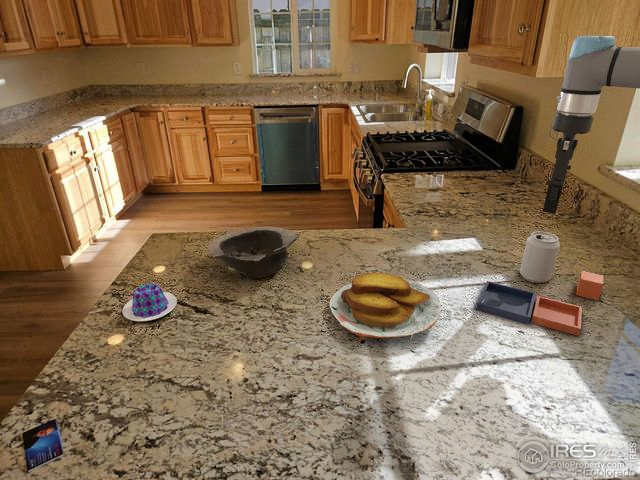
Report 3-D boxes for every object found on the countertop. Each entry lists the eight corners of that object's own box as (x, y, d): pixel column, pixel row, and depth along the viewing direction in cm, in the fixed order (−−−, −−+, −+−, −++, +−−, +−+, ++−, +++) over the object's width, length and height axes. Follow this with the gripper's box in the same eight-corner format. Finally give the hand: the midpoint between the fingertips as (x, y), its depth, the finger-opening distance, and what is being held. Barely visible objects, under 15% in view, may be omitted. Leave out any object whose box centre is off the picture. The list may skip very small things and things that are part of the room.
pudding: (175, 290, 107) (172, 272, 104) (179, 316, 96) (175, 297, 94) (123, 300, 103) (119, 281, 100) (122, 328, 93) (117, 309, 90)
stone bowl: (278, 292, 105) (274, 259, 101) (193, 282, 113) (185, 251, 109) (312, 248, 125) (309, 219, 121) (238, 242, 134) (233, 215, 130)
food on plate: (367, 363, 82) (368, 336, 80) (310, 299, 102) (310, 276, 100) (465, 324, 93) (469, 299, 90) (396, 274, 113) (398, 252, 110)
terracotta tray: (580, 313, 96) (582, 306, 96) (578, 336, 89) (581, 328, 89) (535, 302, 101) (537, 295, 100) (531, 322, 94) (532, 315, 93)
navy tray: (534, 299, 102) (536, 292, 101) (528, 324, 93) (530, 317, 92) (485, 287, 107) (487, 280, 106) (475, 309, 98) (477, 302, 97)
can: (521, 267, 116) (530, 227, 110) (551, 274, 112) (562, 233, 107) (517, 279, 110) (526, 238, 105) (549, 287, 106) (560, 244, 101)
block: (598, 291, 105) (603, 275, 103) (598, 300, 101) (603, 284, 99) (576, 286, 107) (581, 270, 105) (576, 295, 103) (581, 279, 101)
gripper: (560, 104, 105) (541, 186, 114) (550, 120, 86) (528, 217, 95) (595, 106, 102) (572, 190, 111) (593, 124, 82) (565, 224, 92)
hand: (551, 203), depth 103 cm, fingers open, 13 cm apart
